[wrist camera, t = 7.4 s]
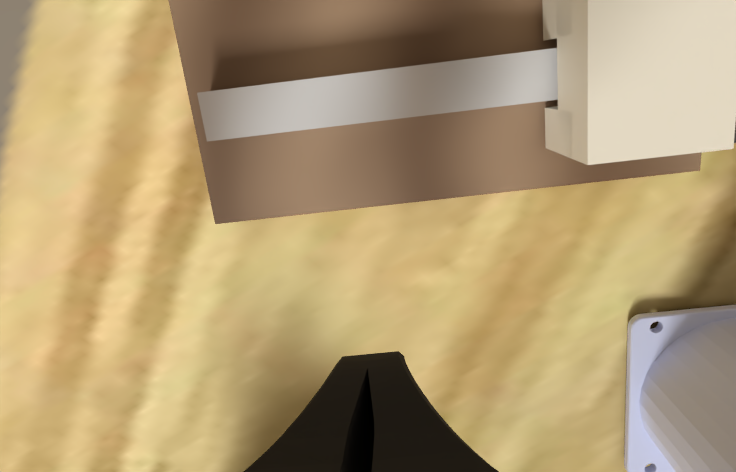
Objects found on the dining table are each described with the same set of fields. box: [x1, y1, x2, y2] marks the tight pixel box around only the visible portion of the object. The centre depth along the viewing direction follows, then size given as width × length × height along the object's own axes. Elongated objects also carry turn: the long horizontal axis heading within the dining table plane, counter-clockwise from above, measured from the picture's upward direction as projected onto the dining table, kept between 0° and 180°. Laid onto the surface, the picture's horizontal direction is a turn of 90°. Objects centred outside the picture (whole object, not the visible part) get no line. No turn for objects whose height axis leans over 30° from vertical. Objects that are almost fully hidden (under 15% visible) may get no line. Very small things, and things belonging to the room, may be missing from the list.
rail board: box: [169, 0, 736, 224], centre depth 17 cm, size 18×8×4 cm, turn 97°
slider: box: [542, 0, 736, 165], centre depth 16 cm, size 4×5×4 cm
